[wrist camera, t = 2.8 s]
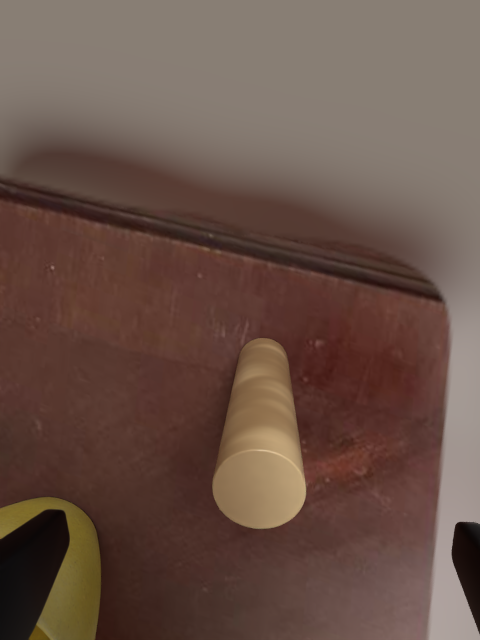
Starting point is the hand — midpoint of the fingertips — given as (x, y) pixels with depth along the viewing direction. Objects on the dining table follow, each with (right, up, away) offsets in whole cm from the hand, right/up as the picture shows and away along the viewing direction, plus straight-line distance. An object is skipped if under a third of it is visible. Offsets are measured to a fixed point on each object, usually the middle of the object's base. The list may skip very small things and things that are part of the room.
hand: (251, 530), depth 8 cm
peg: (+1, +3, +10) cm, 10 cm away
